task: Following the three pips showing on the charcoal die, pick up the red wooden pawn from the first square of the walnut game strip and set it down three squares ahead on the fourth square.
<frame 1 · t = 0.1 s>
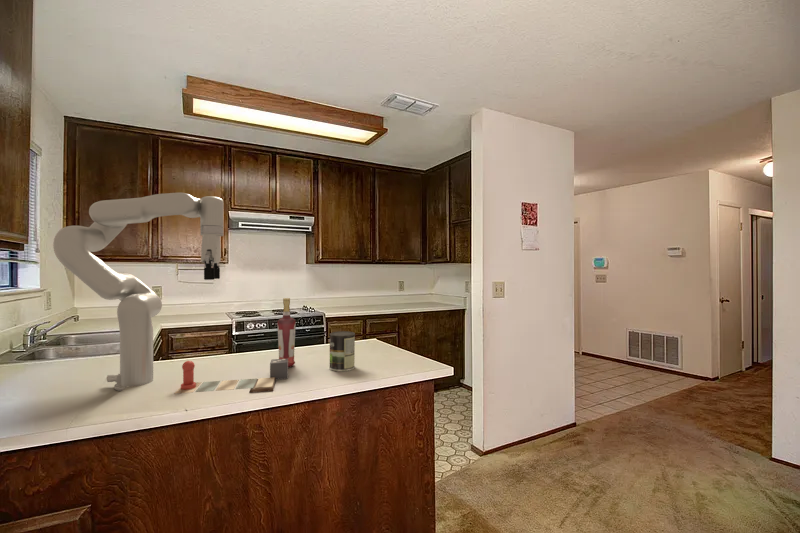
hand: (212, 279, 138), 37 cm above the table, tool pointing down, fingers open, 9 cm apart
pawn: (188, 387, 127), point 1 cm above the table, touching board
coffee can: (342, 368, 156), on the table
board: (227, 388, 129), on the table
die: (279, 377, 143), on the table
liquor: (286, 366, 158), on the table
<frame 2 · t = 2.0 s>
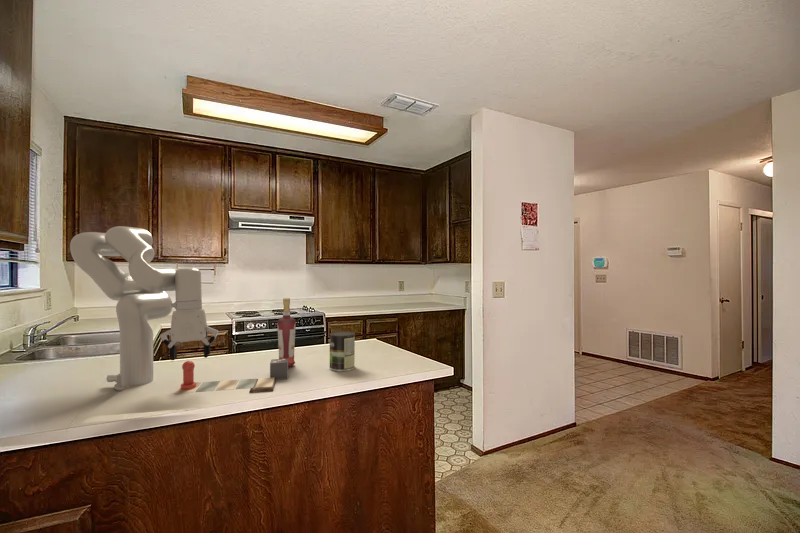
hand: (190, 358, 126), 11 cm above the table, tool pointing down, fingers open, 9 cm apart
nothing on the table moved.
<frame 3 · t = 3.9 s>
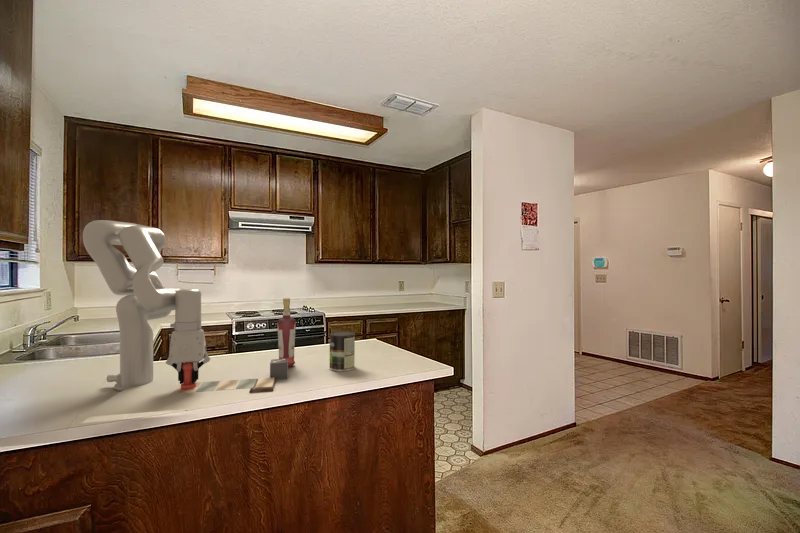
hand: (188, 381, 127), 3 cm above the table, tool pointing down, fingers closed on pawn, 3 cm apart
pawn: (188, 387, 127), point 1 cm above the table, touching board, gripper
everything else where it was.
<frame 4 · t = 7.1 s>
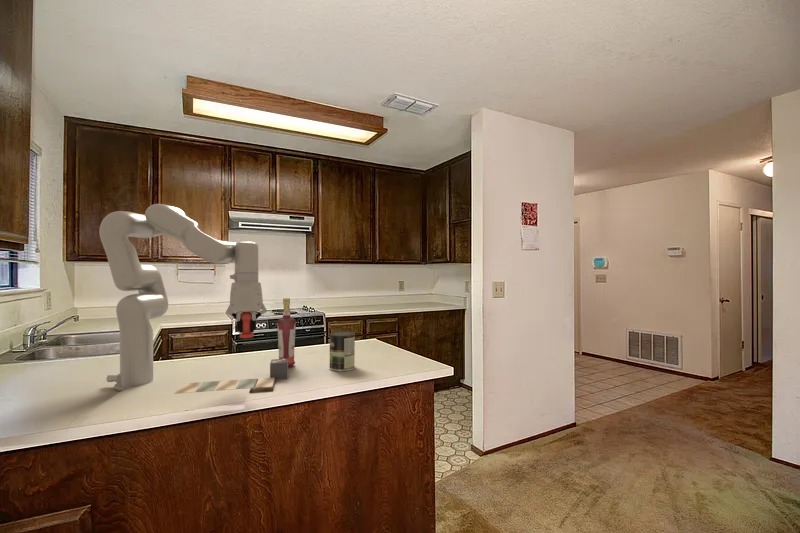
hand: (246, 331, 131), 19 cm above the table, tool pointing down, fingers closed on pawn, 3 cm apart
pawn: (246, 337, 131), point 17 cm above the table, touching gripper
everything else where it was.
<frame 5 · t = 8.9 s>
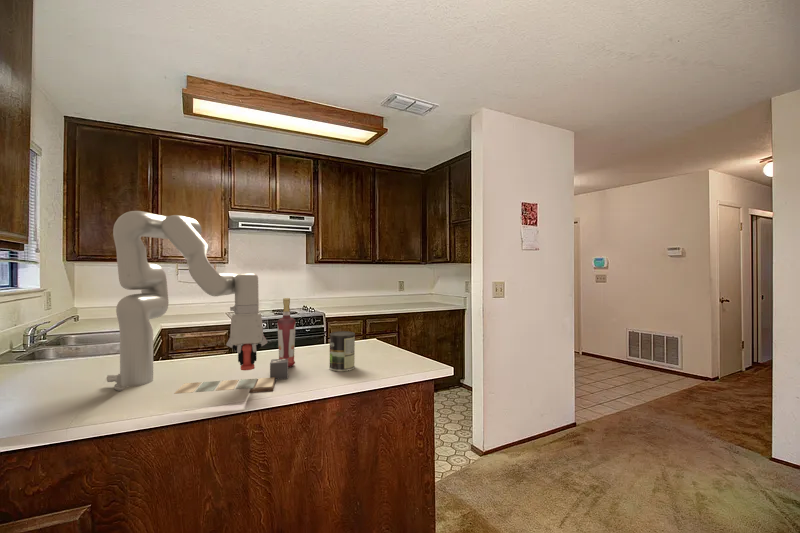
hand: (247, 363, 131), 8 cm above the table, tool pointing down, fingers closed on pawn, 3 cm apart
pawn: (247, 368, 131), point 6 cm above the table, touching gripper
everything else where it was.
when the fingers open (4 cm above the table, at t = 10.4 s): pawn drops 1 cm, resting on board.
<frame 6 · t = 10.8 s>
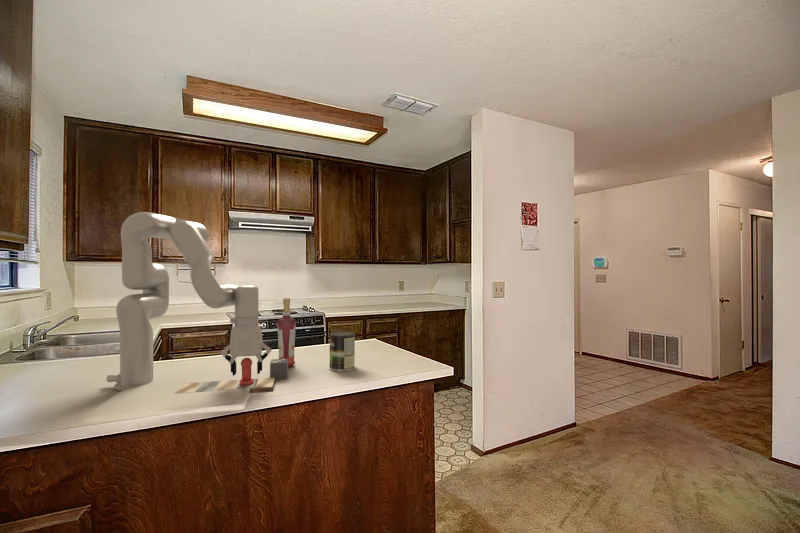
hand: (246, 373, 131), 5 cm above the table, tool pointing down, fingers open, 7 cm apart
pawn: (246, 383, 131), point 1 cm above the table, touching board
everything else where it was.
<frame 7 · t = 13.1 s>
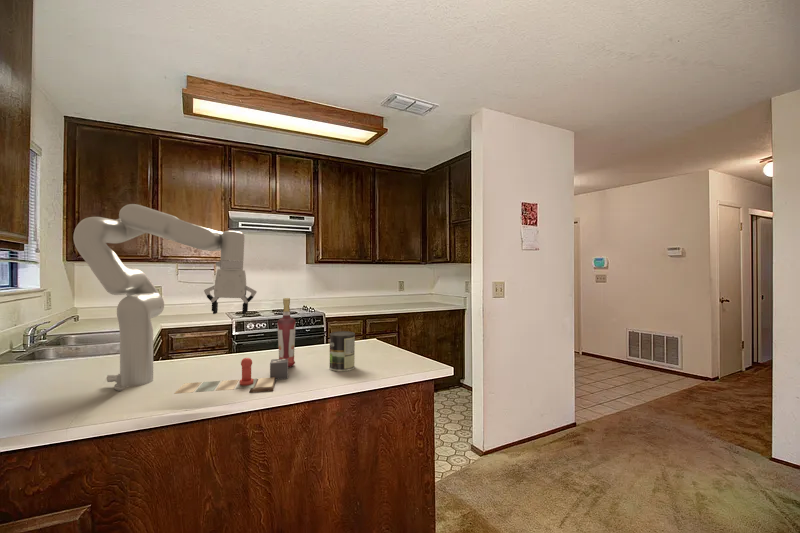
hand: (229, 313, 137), 24 cm above the table, tool pointing down, fingers open, 9 cm apart
nothing on the table moved.
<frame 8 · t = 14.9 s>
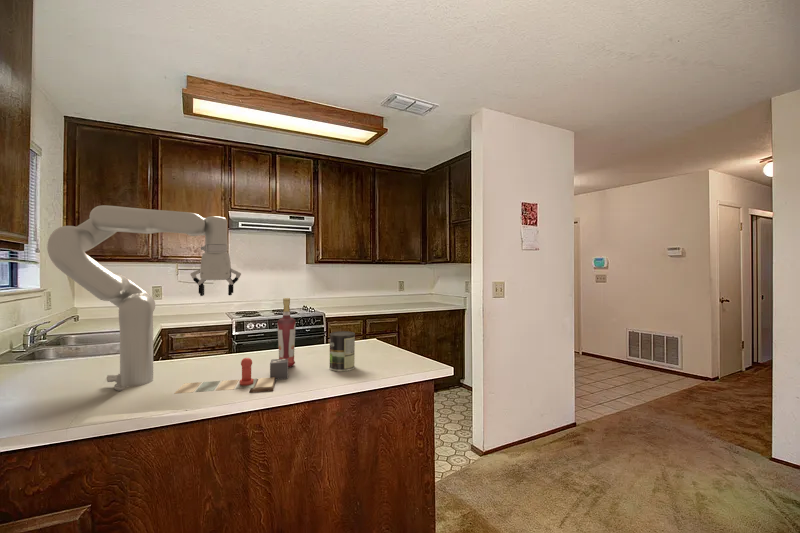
hand: (216, 295, 144), 30 cm above the table, tool pointing down, fingers open, 9 cm apart
nothing on the table moved.
at the end: pawn 0.0 cm from the target spot on the board, point 1.3 cm above the board's base; pawn tilted 0°; the gripper is holding nothing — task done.
